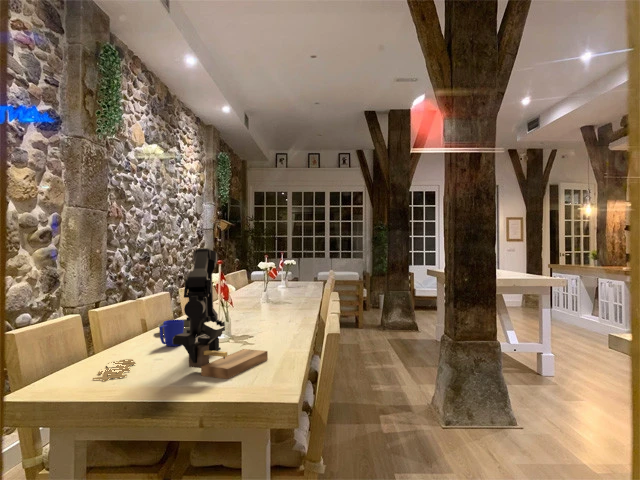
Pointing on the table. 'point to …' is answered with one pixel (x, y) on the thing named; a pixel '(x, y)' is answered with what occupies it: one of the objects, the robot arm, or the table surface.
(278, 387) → the table surface
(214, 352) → the mallet
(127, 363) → the lettering
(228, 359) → the plank
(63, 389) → the table surface
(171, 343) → the mug
